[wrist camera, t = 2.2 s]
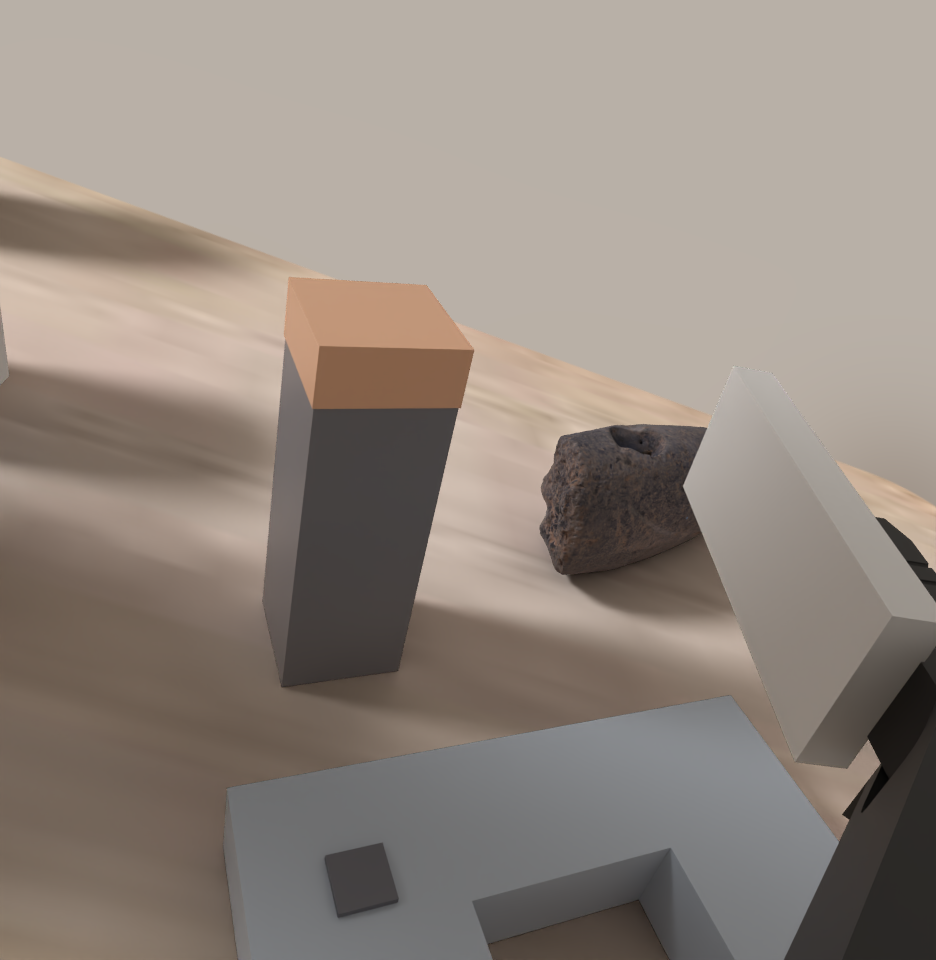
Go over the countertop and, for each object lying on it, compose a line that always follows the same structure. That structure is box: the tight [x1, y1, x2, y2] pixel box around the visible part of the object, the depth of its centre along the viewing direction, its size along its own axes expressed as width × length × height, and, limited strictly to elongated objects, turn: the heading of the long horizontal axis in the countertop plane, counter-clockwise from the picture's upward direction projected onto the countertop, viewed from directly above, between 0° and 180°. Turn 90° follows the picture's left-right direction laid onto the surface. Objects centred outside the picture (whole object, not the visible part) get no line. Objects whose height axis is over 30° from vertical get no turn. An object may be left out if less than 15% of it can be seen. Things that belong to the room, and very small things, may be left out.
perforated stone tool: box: [540, 424, 707, 575], centre depth 40 cm, size 15×5×7 cm, turn 120°
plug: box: [263, 277, 474, 687], centre depth 28 cm, size 5×5×14 cm
